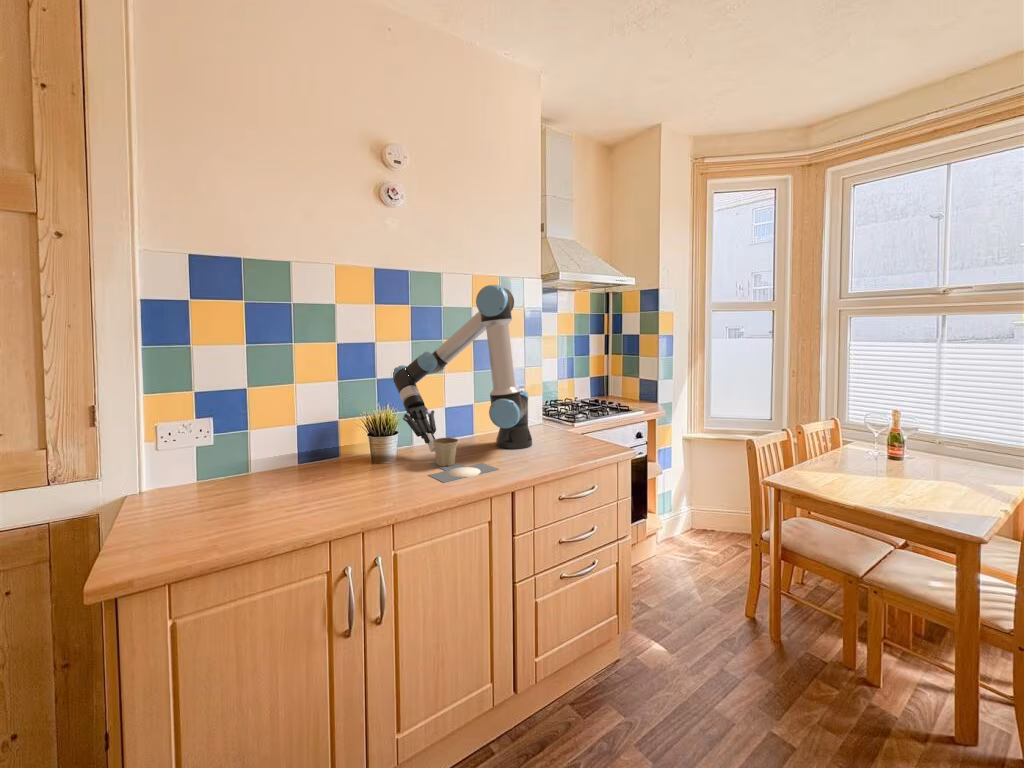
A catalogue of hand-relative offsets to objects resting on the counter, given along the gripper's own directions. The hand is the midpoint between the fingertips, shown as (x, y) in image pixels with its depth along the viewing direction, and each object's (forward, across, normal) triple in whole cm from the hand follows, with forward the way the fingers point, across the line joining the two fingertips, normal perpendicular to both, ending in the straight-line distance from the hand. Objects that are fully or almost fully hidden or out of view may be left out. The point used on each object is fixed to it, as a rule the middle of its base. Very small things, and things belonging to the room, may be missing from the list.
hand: (434, 449), depth 171 cm
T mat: (+13, 0, +7) cm, 15 cm away
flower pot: (+9, 0, +3) cm, 9 cm away
